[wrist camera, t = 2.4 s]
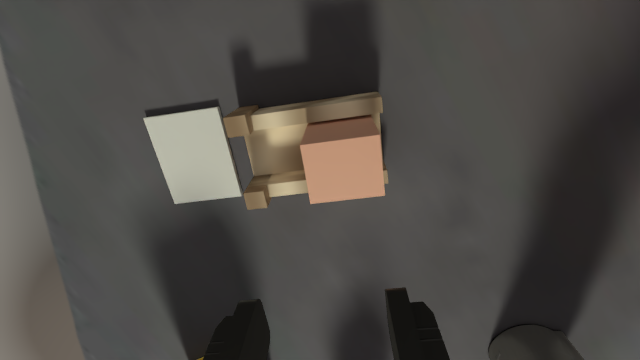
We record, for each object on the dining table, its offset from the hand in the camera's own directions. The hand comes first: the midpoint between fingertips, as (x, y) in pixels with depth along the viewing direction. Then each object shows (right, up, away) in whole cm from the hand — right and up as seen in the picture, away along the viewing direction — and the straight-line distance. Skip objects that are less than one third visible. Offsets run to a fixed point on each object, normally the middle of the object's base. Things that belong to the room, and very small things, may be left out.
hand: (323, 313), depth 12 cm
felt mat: (-14, +7, +23) cm, 28 cm away
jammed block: (+2, +9, +21) cm, 23 cm away
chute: (-1, +9, +22) cm, 23 cm away
